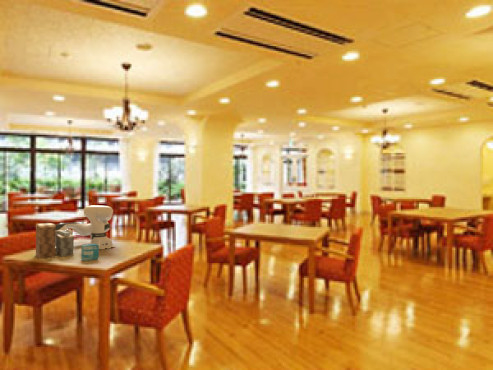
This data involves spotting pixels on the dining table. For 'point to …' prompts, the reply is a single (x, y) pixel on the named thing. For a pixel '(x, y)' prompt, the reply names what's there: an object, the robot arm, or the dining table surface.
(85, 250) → the data package
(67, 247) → the grey marbled block
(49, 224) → the tall stand
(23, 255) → the dining table surface
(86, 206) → the robot arm
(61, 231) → the sanding stick
